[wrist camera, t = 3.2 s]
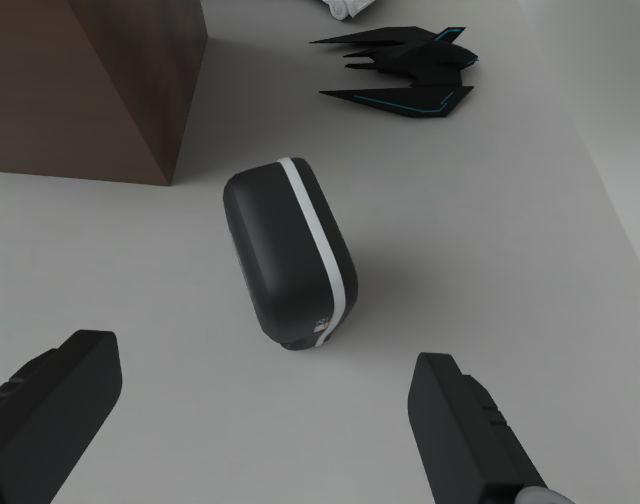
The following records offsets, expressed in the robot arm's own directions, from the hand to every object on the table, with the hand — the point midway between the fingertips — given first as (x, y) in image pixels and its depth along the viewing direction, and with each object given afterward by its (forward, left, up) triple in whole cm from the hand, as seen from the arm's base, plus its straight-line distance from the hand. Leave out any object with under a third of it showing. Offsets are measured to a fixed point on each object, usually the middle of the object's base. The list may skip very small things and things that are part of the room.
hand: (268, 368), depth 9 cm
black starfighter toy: (+27, -8, -13) cm, 31 cm away
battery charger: (+5, 0, -13) cm, 14 cm away
